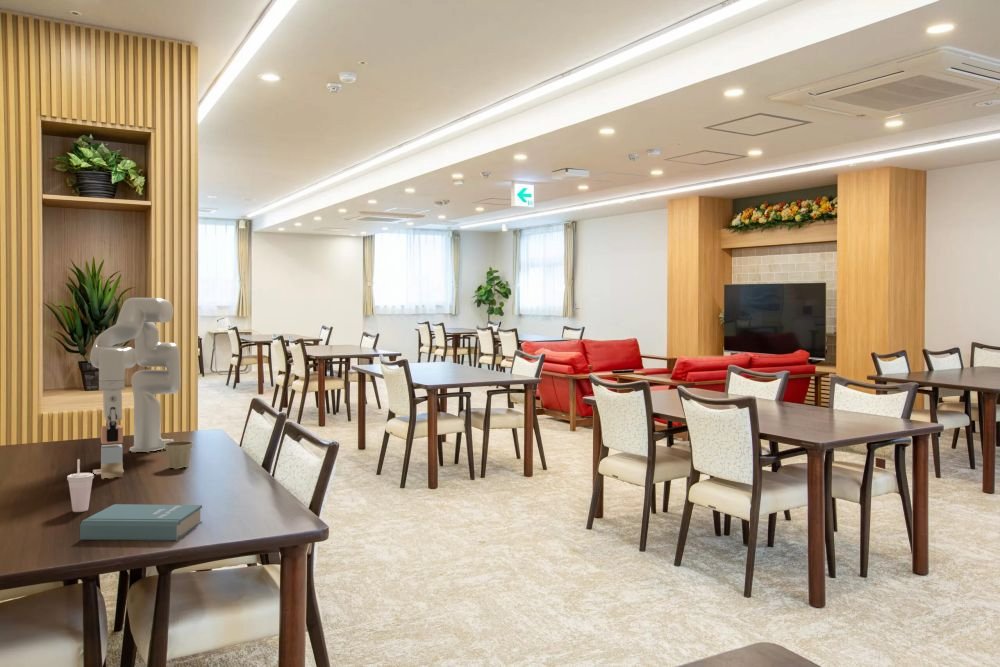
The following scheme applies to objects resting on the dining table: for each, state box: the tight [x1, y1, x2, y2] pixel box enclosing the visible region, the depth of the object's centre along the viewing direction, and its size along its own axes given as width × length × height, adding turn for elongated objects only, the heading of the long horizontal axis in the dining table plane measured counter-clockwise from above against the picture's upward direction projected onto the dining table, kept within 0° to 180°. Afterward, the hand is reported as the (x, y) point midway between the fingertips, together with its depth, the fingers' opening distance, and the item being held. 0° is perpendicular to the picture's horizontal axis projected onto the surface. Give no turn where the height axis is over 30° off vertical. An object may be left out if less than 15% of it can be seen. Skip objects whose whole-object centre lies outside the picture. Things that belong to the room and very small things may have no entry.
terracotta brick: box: [100, 424, 124, 445], centre depth 242 cm, size 6×6×5 cm
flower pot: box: [164, 440, 194, 469], centre depth 257 cm, size 9×9×9 cm
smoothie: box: [66, 458, 95, 513], centre depth 200 cm, size 6×6×14 cm
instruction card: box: [92, 468, 125, 475], centre depth 249 cm, size 9×7×1 cm
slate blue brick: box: [100, 443, 124, 464], centre depth 242 cm, size 6×6×5 cm
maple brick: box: [100, 461, 124, 480], centre depth 242 cm, size 6×6×5 cm
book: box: [79, 503, 203, 542], centre depth 183 cm, size 23×16×5 cm
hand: (111, 439), depth 242 cm, fingers closed on terracotta brick, 6 cm apart
